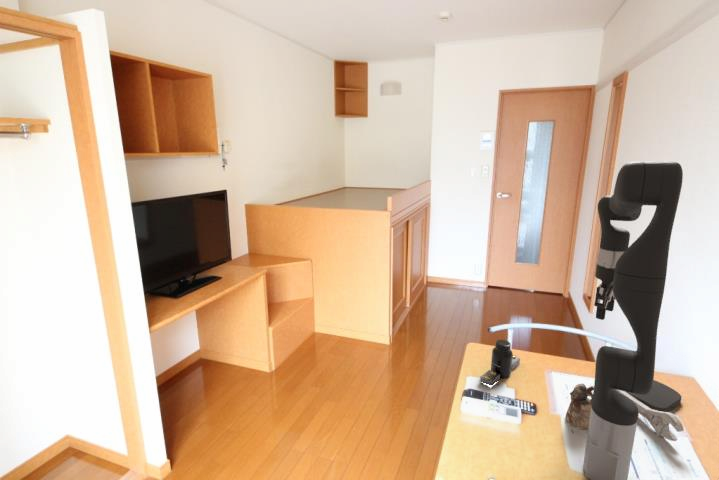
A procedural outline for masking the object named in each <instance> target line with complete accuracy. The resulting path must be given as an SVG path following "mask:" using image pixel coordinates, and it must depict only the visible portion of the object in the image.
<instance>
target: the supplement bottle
mask: <svg viewBox="0 0 719 480" xmlns="http://www.w3.org/2000/svg"><path fill="white" fill-rule="evenodd" d="M513 355H514V353H513V351H512V350H511V342H509V340H506V339H497V340H496V341H495V347H493V348H492V351H491V361H490V370H491V371H495V372H496V373H498V374H500V379H507V378H509V377H510V376H511V375H512V371H511V368H512V357H513Z"/></svg>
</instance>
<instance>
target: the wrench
mask: <svg viewBox="0 0 719 480" xmlns="http://www.w3.org/2000/svg"><path fill="white" fill-rule="evenodd" d="M614 390H615V391H617V392H619V393H620V394H622V395H624V396H626V397H628V398H629V399H630V400H632V401H633V402H634V403H635V404H636V406H637V408H638V411H639V414H638V415H641V416H643V417H644V418H645V419H646V420H647V421H648V422H649V424H650V426H651V427H652V428H653V430H654V431H655V434H656V435H657V437H660V436H661V435H662V437H663V438H664V439H666V440H669V441H673V442H677V441H678V438H677V436H676V435H675V433H673V432H672V430H671V429H670V425H671V426H672V427H673V429H674V430H675V431H676V432H684V426H683V424H682V421H681V420H680V419H679V417H678V416H677V415H675V414H674V413H672V412H671V411H669V412H662V411H657V410H654V409H651V408H649V407H648V406H646V405H645V404H643V403H642V402H640V401H639V400H637V399H636V398H634V397H633V396H631V395H629V394H628V393H626V392H625V391H622V390H617V389H614Z"/></svg>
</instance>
